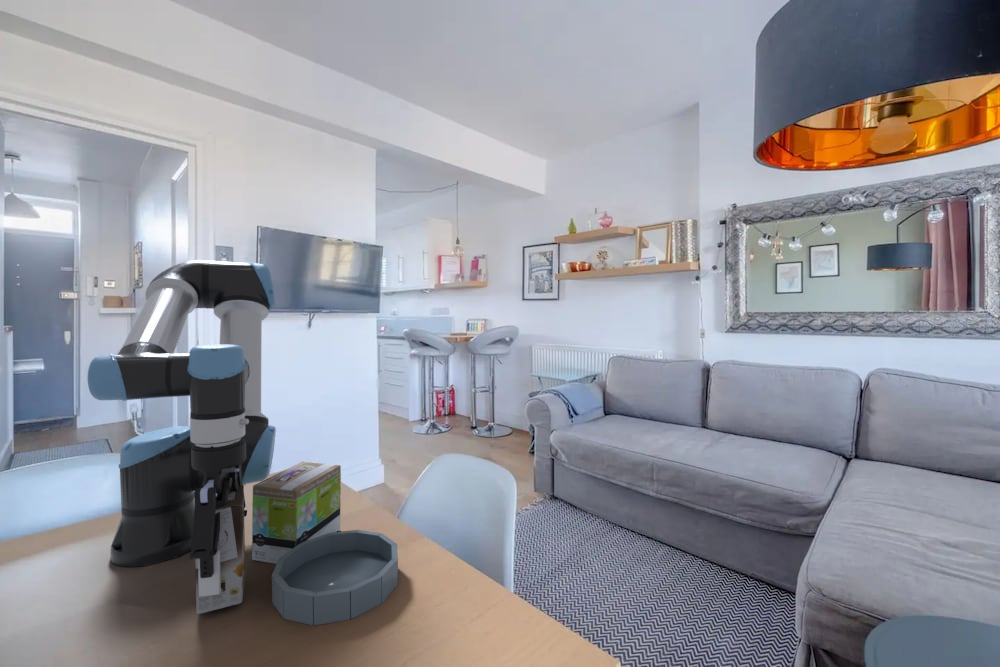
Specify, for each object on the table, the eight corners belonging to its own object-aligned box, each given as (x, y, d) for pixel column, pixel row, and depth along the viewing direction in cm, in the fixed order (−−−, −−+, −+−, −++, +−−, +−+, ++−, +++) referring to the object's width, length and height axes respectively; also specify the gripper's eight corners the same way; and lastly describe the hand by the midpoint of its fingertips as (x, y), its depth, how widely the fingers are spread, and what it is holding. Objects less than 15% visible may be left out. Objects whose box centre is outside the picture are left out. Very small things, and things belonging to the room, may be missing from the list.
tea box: (297, 568, 82) (296, 489, 81) (250, 561, 84) (249, 485, 83) (342, 529, 97) (341, 462, 96) (301, 525, 99) (300, 459, 98)
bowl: (288, 560, 84) (287, 537, 84) (396, 547, 89) (395, 525, 89) (259, 634, 65) (259, 604, 65) (399, 611, 70) (399, 583, 70)
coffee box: (244, 603, 70) (241, 504, 69) (195, 616, 67) (192, 513, 66) (246, 572, 78) (244, 484, 77) (202, 582, 75) (200, 490, 74)
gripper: (220, 462, 61) (224, 616, 63) (263, 421, 83) (265, 536, 84) (157, 466, 60) (162, 625, 61) (218, 424, 81) (220, 541, 83)
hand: (222, 573), depth 73 cm, fingers closed on coffee box, 10 cm apart
